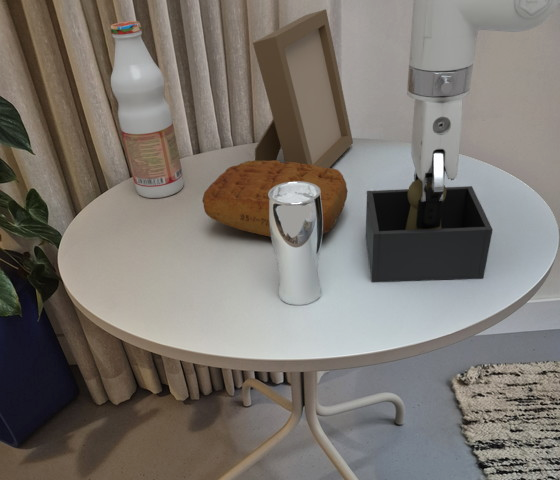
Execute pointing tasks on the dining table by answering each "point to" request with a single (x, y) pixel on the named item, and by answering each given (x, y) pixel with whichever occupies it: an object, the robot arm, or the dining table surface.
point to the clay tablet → (256, 185)
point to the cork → (413, 198)
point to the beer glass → (297, 239)
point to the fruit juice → (144, 115)
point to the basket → (426, 238)
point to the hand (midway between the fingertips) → (424, 216)
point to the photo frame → (303, 94)
